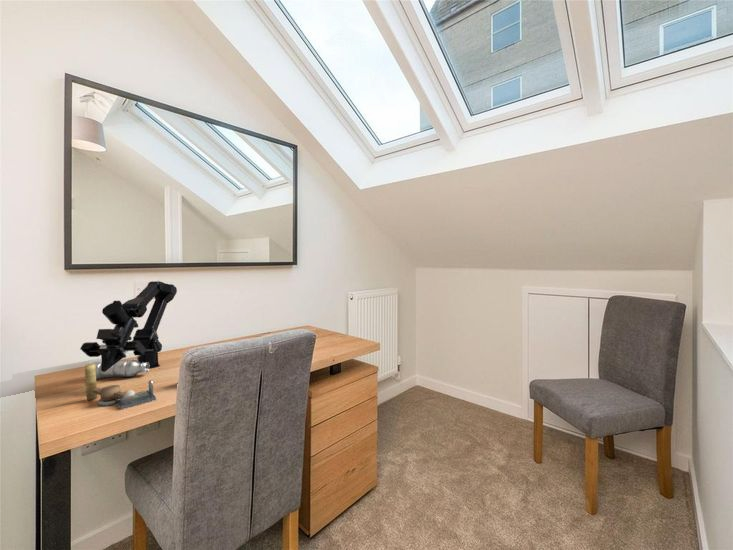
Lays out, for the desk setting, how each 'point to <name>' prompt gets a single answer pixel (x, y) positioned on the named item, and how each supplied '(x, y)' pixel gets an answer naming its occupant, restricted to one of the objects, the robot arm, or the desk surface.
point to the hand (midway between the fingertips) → (103, 371)
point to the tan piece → (105, 392)
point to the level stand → (138, 399)
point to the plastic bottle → (122, 369)
